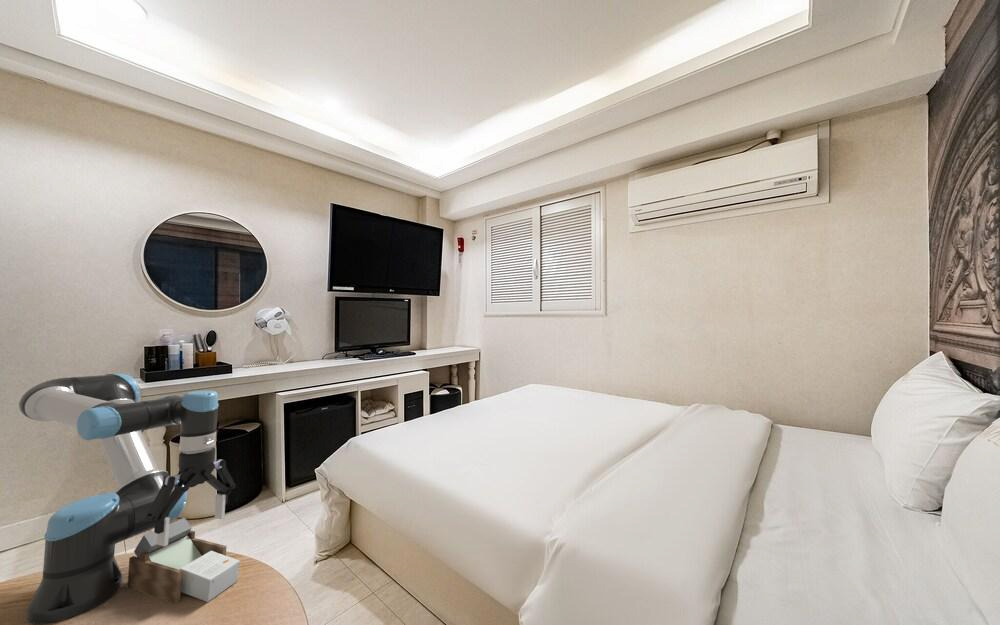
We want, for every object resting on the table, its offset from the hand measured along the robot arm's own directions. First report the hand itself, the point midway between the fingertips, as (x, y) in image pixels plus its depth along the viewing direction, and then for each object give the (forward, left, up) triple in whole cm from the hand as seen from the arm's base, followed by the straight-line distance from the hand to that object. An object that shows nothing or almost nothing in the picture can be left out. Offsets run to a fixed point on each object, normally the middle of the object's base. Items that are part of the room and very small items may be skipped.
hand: (192, 530), depth 95 cm
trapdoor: (-7, 0, -11) cm, 13 cm away
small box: (+1, 0, -10) cm, 10 cm away
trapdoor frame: (-5, 0, -14) cm, 14 cm away
